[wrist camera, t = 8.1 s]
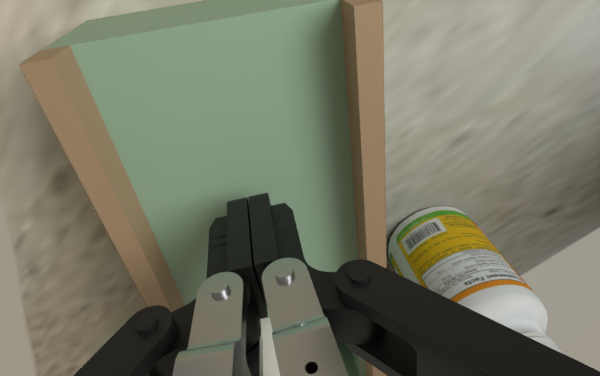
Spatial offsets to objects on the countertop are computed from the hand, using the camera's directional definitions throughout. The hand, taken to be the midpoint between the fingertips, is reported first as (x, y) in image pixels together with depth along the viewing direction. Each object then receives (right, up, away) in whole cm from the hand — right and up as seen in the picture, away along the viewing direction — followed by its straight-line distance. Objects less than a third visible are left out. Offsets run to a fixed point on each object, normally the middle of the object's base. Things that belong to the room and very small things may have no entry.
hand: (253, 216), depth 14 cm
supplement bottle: (+10, -2, +10) cm, 14 cm away
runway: (0, -1, +7) cm, 7 cm away
